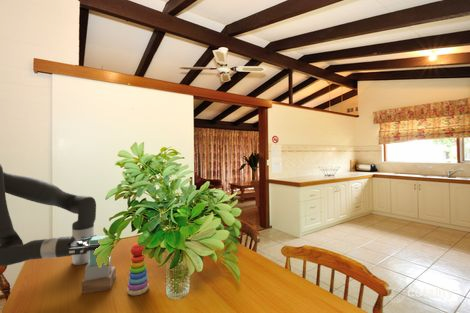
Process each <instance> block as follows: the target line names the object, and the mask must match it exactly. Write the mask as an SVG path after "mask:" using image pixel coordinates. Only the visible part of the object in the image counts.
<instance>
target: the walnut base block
mask: <svg viewBox="0 0 470 313" xmlns="http://www.w3.org/2000/svg"><path fill="white" fill-rule="evenodd" d="M116 274H117V267H116V266H115V265H113V266H111V270H110V273H109V276H108V277H103V278H97V279H91V280H86V281H85V277H84V278H83V279H82V281H81V294H82V293H84V294H87V293H86V292H90V293H95V291H97V292H101V291H102V290H103V291H108V289H110V290H111V289H112V287H111V286H113V284H114V283H115V279H116V277H117V275H116Z"/></svg>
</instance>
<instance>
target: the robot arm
mask: <svg viewBox="0 0 470 313" xmlns="http://www.w3.org/2000/svg"><path fill="white" fill-rule="evenodd" d="M6 194H9V195H11V196H15V197H18V198H21V199H23V200H26V201H30V202H34V203H37V204H41V205H46V206H53V207H58V208H61V209H63V210H64V211H65V210H66V211H67V212H70V213H71V214H72V213H73V214H76V215H77V220H76V221H74V222H73V223H72V224H71V229H72V231H71V233H72V234H71V236H61V237H59V236H57V237H50V238H45V239H44V238H43V239H34V240H30V241H28V242H26V243H24V241H23V239H22V238H21V237H20V235H19V234H18V233H17V231H16V230H15V229H14V225H13V221H12V219H11V216H10V213H9V208H8V202H7V199H6V198H7V197H6ZM96 215H97V203H96V200H95V198H94V197H93V196H89V195H88V196H87V195H77V194H74V193H69V192H66V191H64V190H62V189H61V188H59V186H57V185H54V184H53V183H51V182H48V181H45V180H44V179H38V178H34V177H31V176H25V175H17V174H12V173H9V172H6V171H4V170H3V166H2V164H1V163H0V267H6V266H11V265H15V264H19V263H23V262H26V261H30V260H40V259H54V258H61V257H62V258H65V257H70V256H71V258H72V260H71V261H72V265H74V266H75V265H76V266H80V265H85V264H86V265H87V264H88V262H89V260H90V250H91V251H92V250H95V249H96V248H98V247H99V246H100V244H91V246H90V240H91V239H92V238H93V237H94V236H98V235H97V234H95V221H96Z"/></svg>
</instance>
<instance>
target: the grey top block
mask: <svg viewBox="0 0 470 313" xmlns="http://www.w3.org/2000/svg"><path fill="white" fill-rule="evenodd" d="M109 256H110V257H109ZM109 256H108V257H109V266H108V267H107V266H106V263H104V264H102V267H101V268H99V267H98V265H90V260H89V262H88V263H86V266H85V268H84V272H85V273H84V278H85V281H86V280H91V279H97V278H103V277H108V276H109V273H110V270H111V267H112V256H111V255H109Z"/></svg>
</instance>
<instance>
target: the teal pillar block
mask: <svg viewBox="0 0 470 313" xmlns="http://www.w3.org/2000/svg"><path fill="white" fill-rule="evenodd" d="M106 235H107V234H106ZM106 235H97V236H94V237H93V238H92V239H91V240H90V246H91V244H99V243H98V240H100V239H103V238H105V237H106ZM94 251H95V250H92V251H91V250H90V265H97V262H96V258H97V256H98V255H94V254H93V253H94ZM103 264H104V263H103Z"/></svg>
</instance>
